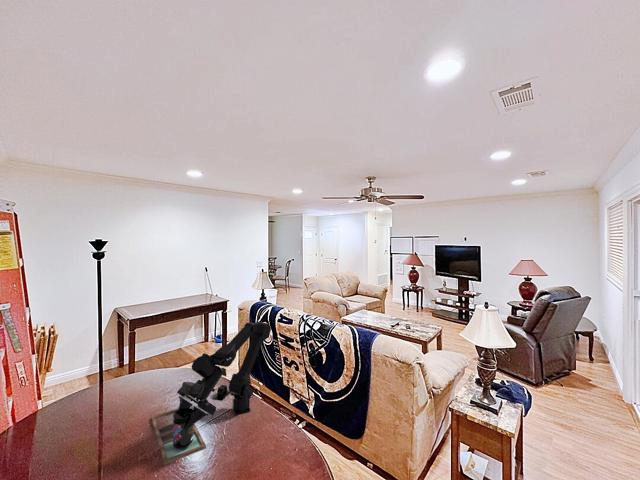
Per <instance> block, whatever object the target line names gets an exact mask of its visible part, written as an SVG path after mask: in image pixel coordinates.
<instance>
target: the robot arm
mask: <svg viewBox="0 0 640 480" xmlns="http://www.w3.org/2000/svg"><path fill="white" fill-rule="evenodd" d="M271 331H272V327H271V325H270V324H269V322H268V323H267V322H264V321H263V322H262V321H261V322H260V321H256V322H249V321H248V322H246V323H245V324H244V325H243V327H242V328H241V330H240V331H239V332H237V334H236V335H234V337H233V338H232V339H231V340H230V341H229V343H227V344H225V345H222V346H220V347H219V348H218V349H217V350H216V351H215V352H214V353H213V354H211V355H209V354H208V353H205V352H204V353H202V354H201V355H200V356H198V357H197V358H196V359H195V360H193V361H192V364H191V369H192V371H194V373H197V375H199V376H200V377H202V378H201V379H197V381H195V382H191V381H183V382H182V384H181V387H180V388H179V389H178V390H177V392H176V393H177V394H178V395H179V396H178V398H179V405H178V407H177V409H178V410H181V409H184V408H192V409H193V413H192V415H191V416H190V418H189V420H188V421H187V423H186V425H185V427H184V429H185V430H187V429H188V428H189V427H191V426H192V425H193V424H195V425H196V424H197V422H199V421H200V420H202V419H203V418H205V417H208V416H209V415H210V416H212V417H214V415H215V413H216V411H217V406H216V405H214V404H213V403H211V402H209V400H208V398H209V397H210V395H211V393H212V392H213V393H214V392H215V391H216V389H215V387H216V385H217V384H218V382H219V381H220V379H221V378H222V376H223V377H227V369H226V368H228V367H230V366H232V364H233V363H234V360H235V359H236V358H237V353H238V351H239V350H240V349H241V347H243V345H244V344H245V343H246V342H247V341H248V339H249V338H251V342H249V343H250V344H249V346H248V349H247V350H246V354H245V356H244V358H243V361H242V363H241V365H240V367H239V368H240V369H239V371H238V372H236V373H233V374H232V375H231V378H230V381H229V382H228V383H229V384H228V390H229V391H230V396H233V399H232V403H231V404H232V412H234V415H235V416H237V415H240V414H241V415H242V414H245V413H249V412H251V408H250V399H251V398H252V396H253V395H254V391H255V390H254V389H253V388H252V387H251V382H252V381H251V372H252V370H253V368H254V365H255V362H256V359H257V358H258V354H259V352H260V349H261V347H262V344H263V342H264V341H266V340H267V339H268V338H269V335H270V333H271ZM225 367H226V368H225ZM192 402H193V403H195V404H196V405H197V406H195V405H194V404H193V403H192ZM192 406H193V407H192Z"/></svg>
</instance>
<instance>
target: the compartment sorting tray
mask: <svg viewBox="0 0 640 480" xmlns="http://www.w3.org/2000/svg"><path fill="white" fill-rule="evenodd" d="M177 411H178V408H176V409H172V410H169V411H168V410H167V411H166V412H165V411H164V412H162V413H158V414H156V415H155V414H154V415H152V416H151V418H150V419H151V423H152V427H153V430H154V433H155V436H156V439H157V443H158V447H159V450H160V453H161V458H162V461H163V463H164V464H163V465H164V466H166V465H169V464H171V463H174V462H176V461H178V460H180V459H182V458H186V457H189V456H190V455H193V454H195V453H198V452H200V451H203V450H206V449H207V445H206V443H205V441H204V439H203V437H202V435H201V433H200V431H199V429H198V427H197V426H196V423H195V424H194V432H193V441H192V443H191V444H190V445H189V446H187V447H185V448H181V449H177V448H175V447H174V446H173V422H172V423H169V424H166V425H162V426H161V427H160V426H159V427H158V424H157V419H161V418H162V417H166V416H170V415H174V413H175V412H177Z"/></svg>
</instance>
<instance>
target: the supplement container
mask: <svg viewBox="0 0 640 480" xmlns="http://www.w3.org/2000/svg"><path fill="white" fill-rule="evenodd" d="M192 413H193V408H192V407H190V408H184V409H181V410H178V411H177V412H175V413H173V414H172V415H173V417H172V423H173V446H174V447H175V448H177V449H181V448H185V447H187V446H189V445H190V444H191V443H192V441H193V432H194V424H193V425H192V426H191V427H189V428H188V429H187V430H185V429H184V427H185V425H186V423H187V421H188V420H189V418H190V416H191V415H192Z"/></svg>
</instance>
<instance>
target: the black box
mask: <svg viewBox="0 0 640 480" xmlns="http://www.w3.org/2000/svg"><path fill="white" fill-rule="evenodd" d="M229 395H231V393H230V391H229V389H228V385H227V384H221V385H220V386H218V387H217V391H216V395H214V396H213V397H212V398H211V400H214V401H221V402H222V401H224V400H225V399H226V398H227V397H228V396H229ZM226 396H227V397H226ZM225 397H226V398H225Z"/></svg>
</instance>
